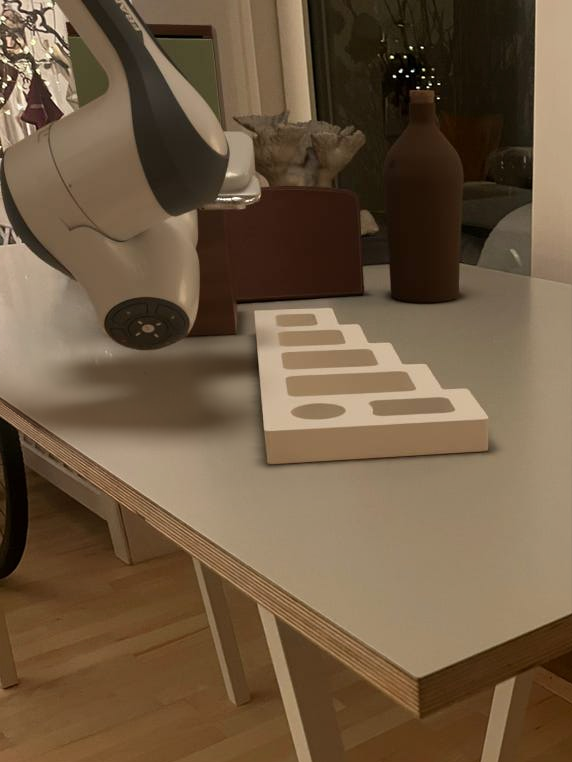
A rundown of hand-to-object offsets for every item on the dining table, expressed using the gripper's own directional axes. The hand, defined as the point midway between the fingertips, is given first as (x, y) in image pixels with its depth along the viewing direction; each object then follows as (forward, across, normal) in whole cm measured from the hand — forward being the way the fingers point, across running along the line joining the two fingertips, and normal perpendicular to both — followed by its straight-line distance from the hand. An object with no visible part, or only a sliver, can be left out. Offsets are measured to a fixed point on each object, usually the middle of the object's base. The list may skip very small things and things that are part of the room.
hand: (147, 117), depth 98 cm
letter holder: (+15, -13, +36) cm, 41 cm away
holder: (-25, -18, +12) cm, 33 cm away
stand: (-1, 0, +26) cm, 26 cm away
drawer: (+5, 0, +4) cm, 6 cm away
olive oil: (+11, -31, +33) cm, 47 cm away
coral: (+40, -16, +50) cm, 66 cm away
